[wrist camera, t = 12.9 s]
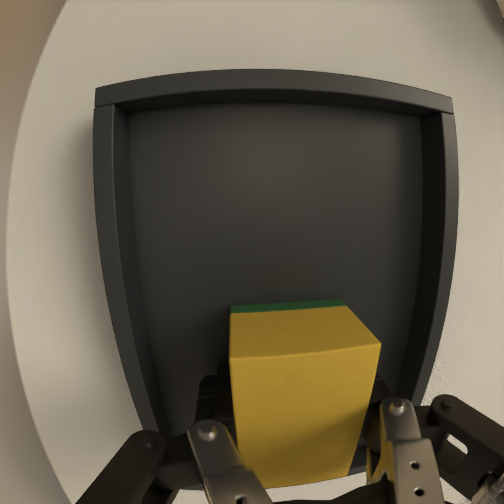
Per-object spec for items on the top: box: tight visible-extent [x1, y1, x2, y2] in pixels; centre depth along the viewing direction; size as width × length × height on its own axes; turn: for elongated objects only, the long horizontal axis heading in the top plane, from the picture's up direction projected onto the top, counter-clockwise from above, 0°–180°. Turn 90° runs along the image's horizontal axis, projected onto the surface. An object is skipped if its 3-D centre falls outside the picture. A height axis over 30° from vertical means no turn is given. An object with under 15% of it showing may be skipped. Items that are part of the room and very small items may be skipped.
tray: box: [93, 69, 459, 490], centre depth 12 cm, size 20×14×2 cm
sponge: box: [229, 299, 381, 488], centre depth 10 cm, size 7×4×4 cm, turn 2°
